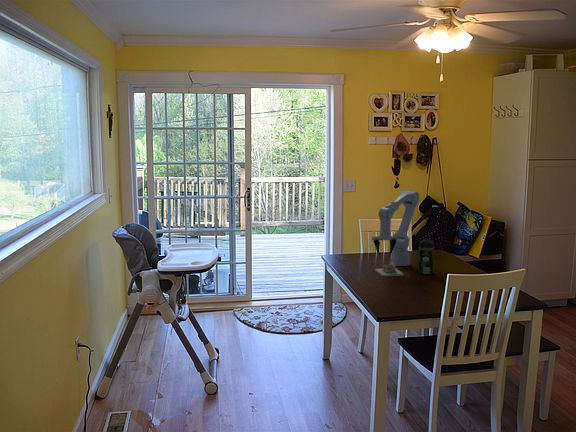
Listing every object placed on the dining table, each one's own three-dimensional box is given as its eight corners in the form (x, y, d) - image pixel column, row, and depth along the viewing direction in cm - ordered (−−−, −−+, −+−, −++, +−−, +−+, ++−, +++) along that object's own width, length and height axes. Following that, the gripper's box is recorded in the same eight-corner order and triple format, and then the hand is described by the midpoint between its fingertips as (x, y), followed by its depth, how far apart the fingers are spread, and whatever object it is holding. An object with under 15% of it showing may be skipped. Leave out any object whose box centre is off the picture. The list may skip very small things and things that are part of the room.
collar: (392, 269, 284) (392, 264, 284) (395, 272, 279) (395, 266, 279) (383, 269, 284) (383, 264, 283) (386, 272, 279) (386, 267, 278)
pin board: (395, 270, 288) (396, 261, 288) (403, 275, 277) (404, 266, 276) (375, 270, 287) (375, 262, 286) (382, 276, 275) (382, 267, 274)
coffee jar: (418, 270, 288) (420, 237, 286) (433, 271, 286) (435, 238, 283) (416, 274, 279) (418, 241, 277) (432, 275, 277) (433, 242, 274)
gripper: (375, 230, 282) (374, 254, 284) (400, 230, 284) (399, 254, 286) (371, 228, 289) (370, 251, 291) (395, 227, 291) (394, 251, 293)
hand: (384, 252), depth 289 cm, fingers open, 7 cm apart
